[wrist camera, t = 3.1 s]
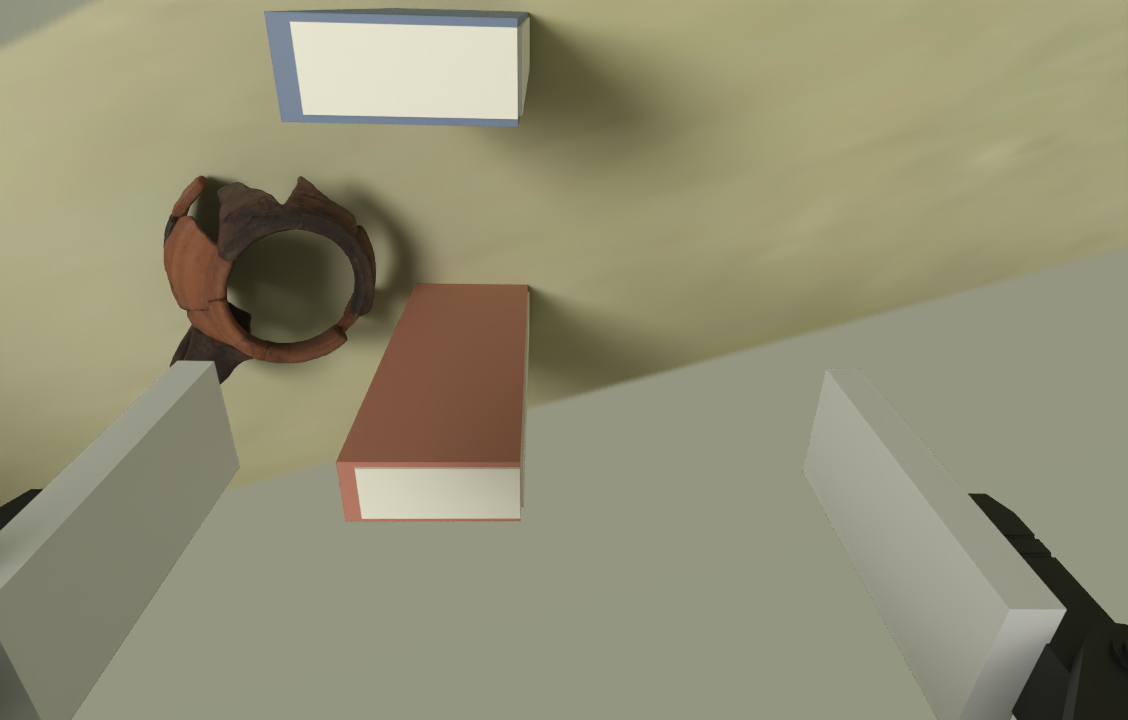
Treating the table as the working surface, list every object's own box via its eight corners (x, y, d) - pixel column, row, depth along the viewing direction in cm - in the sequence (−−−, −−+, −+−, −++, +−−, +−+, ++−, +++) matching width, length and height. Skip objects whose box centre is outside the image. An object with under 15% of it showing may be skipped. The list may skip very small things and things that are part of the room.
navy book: (397, 68, 31) (280, 122, 17) (393, 8, 30) (262, 11, 16) (529, 72, 32) (521, 127, 17) (529, 12, 31) (521, 18, 16)
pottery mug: (204, 109, 32) (234, 154, 26) (376, 198, 38) (431, 251, 33) (99, 323, 34) (106, 409, 28) (280, 373, 41) (315, 452, 35)
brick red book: (419, 326, 38) (345, 523, 23) (415, 283, 36) (335, 463, 22) (529, 327, 38) (523, 522, 23) (529, 285, 37) (522, 464, 22)
